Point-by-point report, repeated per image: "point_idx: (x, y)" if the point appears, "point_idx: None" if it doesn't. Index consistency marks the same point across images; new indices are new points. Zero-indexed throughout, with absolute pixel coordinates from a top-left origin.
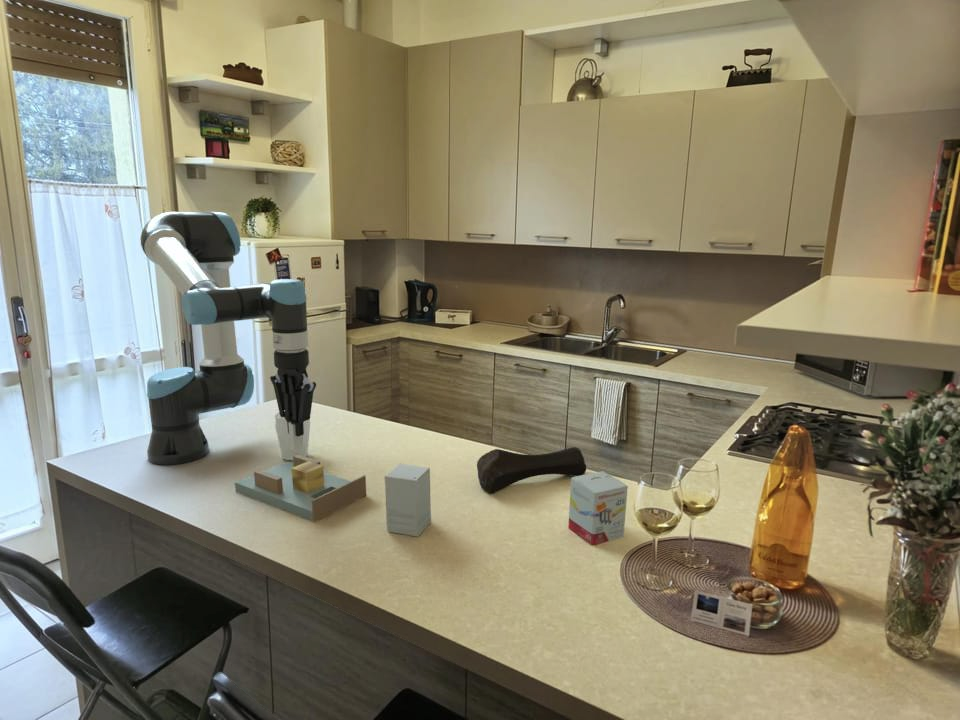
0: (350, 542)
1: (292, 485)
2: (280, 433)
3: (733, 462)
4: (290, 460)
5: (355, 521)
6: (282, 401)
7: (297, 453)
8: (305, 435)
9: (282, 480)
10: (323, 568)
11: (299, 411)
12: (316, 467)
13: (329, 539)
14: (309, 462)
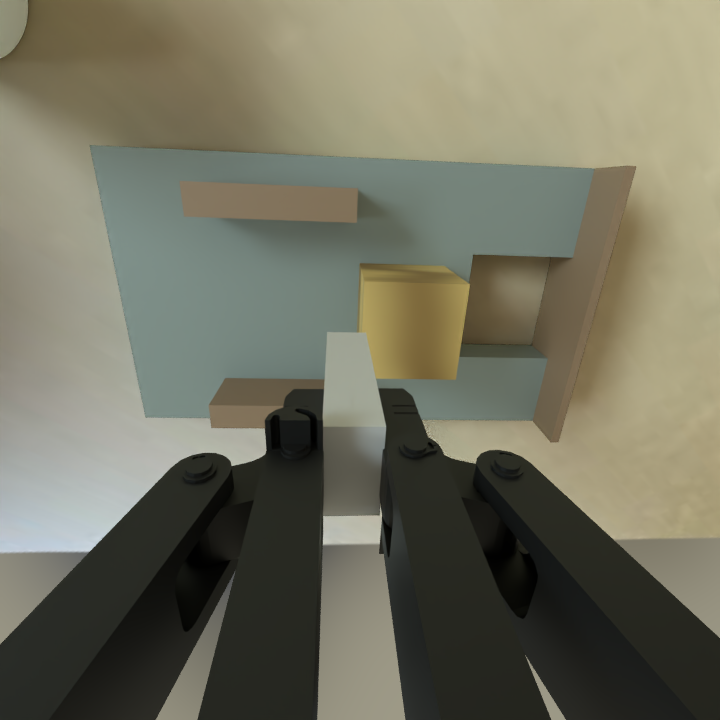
0: (671, 423)
1: (337, 329)
2: None
3: None
4: (6, 52)
5: (633, 340)
6: (137, 712)
7: (1, 10)
8: None
9: (268, 319)
10: (661, 516)
11: (526, 645)
12: (454, 315)
13: (612, 439)
14: (381, 289)
